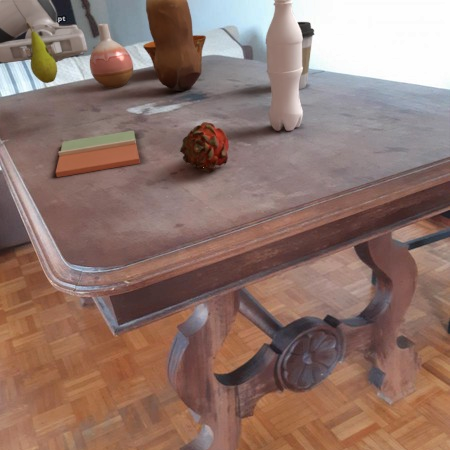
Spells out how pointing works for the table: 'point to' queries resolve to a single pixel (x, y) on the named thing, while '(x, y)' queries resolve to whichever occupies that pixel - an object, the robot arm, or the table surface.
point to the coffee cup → (305, 51)
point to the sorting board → (97, 153)
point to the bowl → (197, 41)
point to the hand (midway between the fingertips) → (39, 51)
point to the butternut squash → (173, 43)
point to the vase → (110, 61)
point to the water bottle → (284, 67)
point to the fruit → (42, 60)
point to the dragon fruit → (205, 147)
